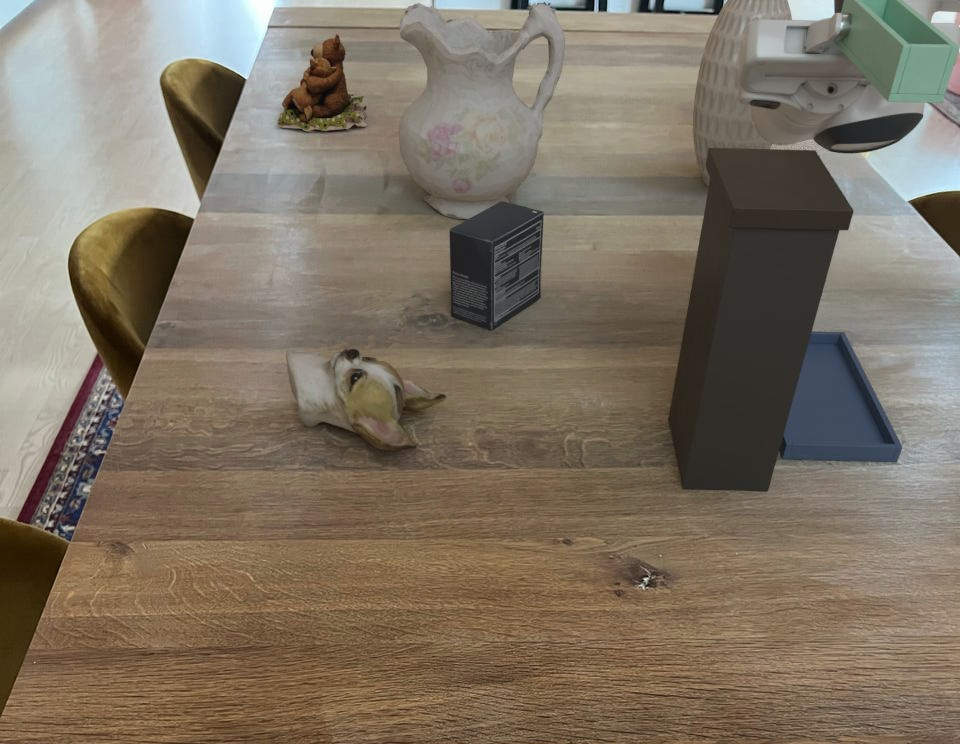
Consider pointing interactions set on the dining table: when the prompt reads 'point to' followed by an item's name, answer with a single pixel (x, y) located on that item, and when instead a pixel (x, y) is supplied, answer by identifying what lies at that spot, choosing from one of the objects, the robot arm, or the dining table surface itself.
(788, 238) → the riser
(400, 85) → the dining table surface
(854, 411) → the tray
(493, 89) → the ceramic pitcher
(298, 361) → the ceramic sculpture
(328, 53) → the bear figurine
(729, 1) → the vase
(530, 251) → the small box
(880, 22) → the slim bin
